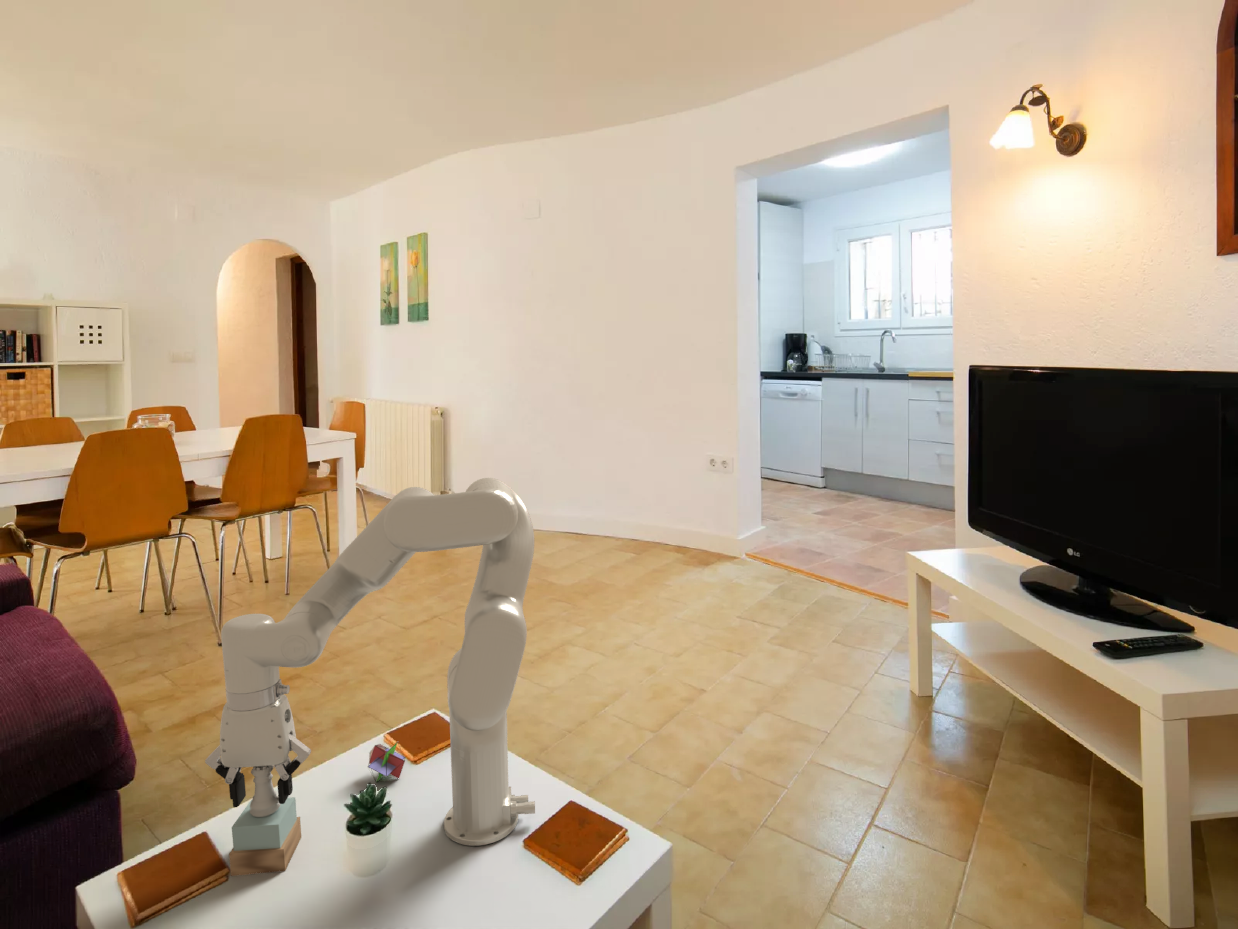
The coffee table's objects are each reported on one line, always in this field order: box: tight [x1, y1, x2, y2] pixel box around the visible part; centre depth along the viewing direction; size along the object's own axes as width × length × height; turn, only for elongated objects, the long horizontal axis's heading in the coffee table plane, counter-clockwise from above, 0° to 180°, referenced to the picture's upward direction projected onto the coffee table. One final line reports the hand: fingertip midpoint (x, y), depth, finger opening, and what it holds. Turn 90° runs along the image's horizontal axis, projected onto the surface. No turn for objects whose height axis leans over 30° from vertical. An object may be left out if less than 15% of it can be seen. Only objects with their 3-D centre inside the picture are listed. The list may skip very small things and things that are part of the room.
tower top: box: [231, 796, 298, 851], centre depth 112 cm, size 7×7×4 cm
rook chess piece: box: [250, 765, 280, 818], centre depth 111 cm, size 4×4×8 cm
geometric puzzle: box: [367, 741, 406, 783], centre depth 134 cm, size 7×7×8 cm
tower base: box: [228, 816, 302, 877], centre depth 112 cm, size 8×8×4 cm
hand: (262, 799), depth 111 cm, fingers open, 6 cm apart
